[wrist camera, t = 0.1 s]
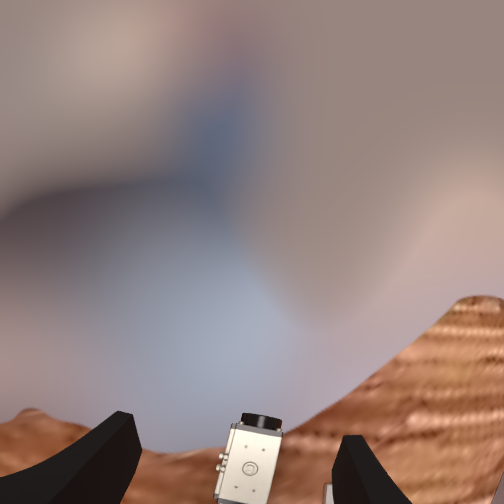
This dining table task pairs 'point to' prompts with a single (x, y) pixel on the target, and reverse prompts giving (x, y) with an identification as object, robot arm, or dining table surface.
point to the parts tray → (328, 494)
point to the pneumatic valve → (249, 460)
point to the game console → (499, 493)
